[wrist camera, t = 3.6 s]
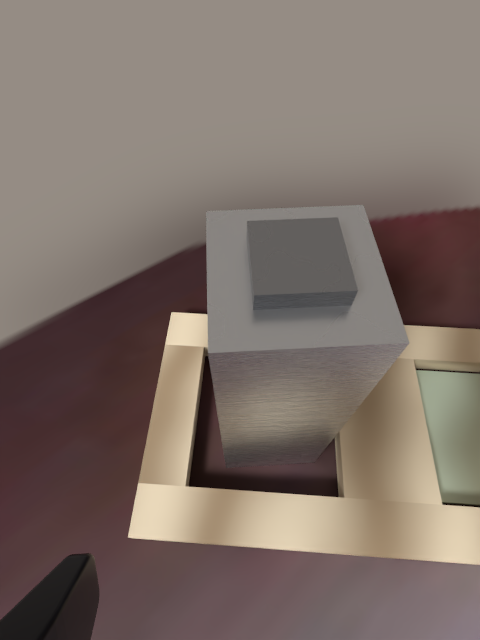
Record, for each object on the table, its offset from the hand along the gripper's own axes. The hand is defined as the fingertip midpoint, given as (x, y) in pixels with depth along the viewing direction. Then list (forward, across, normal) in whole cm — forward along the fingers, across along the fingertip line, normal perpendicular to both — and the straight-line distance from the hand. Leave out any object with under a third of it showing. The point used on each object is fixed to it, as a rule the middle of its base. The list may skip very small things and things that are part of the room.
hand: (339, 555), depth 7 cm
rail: (+13, -6, +5) cm, 15 cm away
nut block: (+13, 0, +4) cm, 14 cm away
